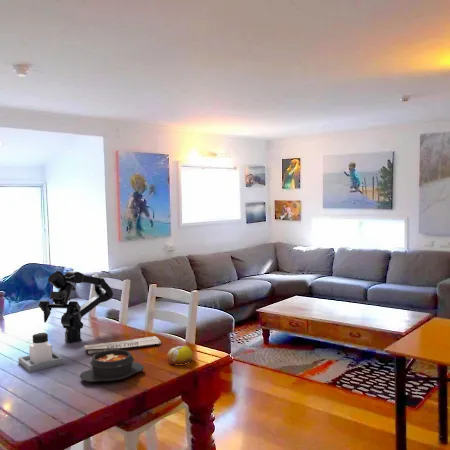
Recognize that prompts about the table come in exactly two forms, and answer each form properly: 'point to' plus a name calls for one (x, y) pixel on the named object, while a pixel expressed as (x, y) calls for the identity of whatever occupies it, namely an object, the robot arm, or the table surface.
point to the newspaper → (122, 344)
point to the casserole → (111, 366)
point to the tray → (34, 367)
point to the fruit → (179, 355)
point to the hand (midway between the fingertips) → (54, 322)
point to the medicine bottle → (40, 348)
